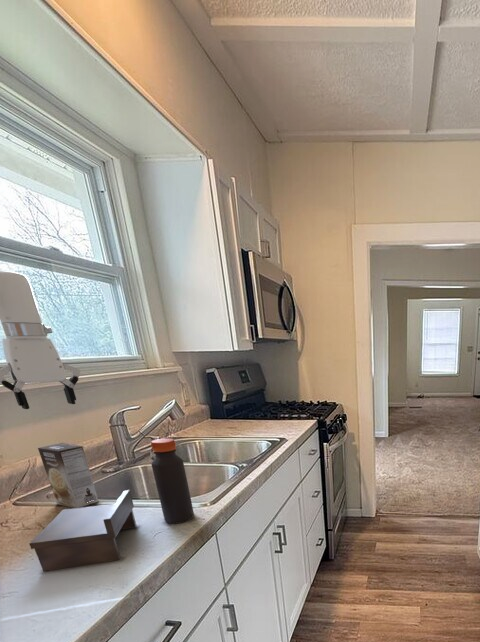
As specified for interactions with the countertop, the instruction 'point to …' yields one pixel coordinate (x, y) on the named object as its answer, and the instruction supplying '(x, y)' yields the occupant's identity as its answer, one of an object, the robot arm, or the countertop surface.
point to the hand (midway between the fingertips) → (49, 406)
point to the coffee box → (68, 474)
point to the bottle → (171, 482)
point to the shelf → (84, 535)
